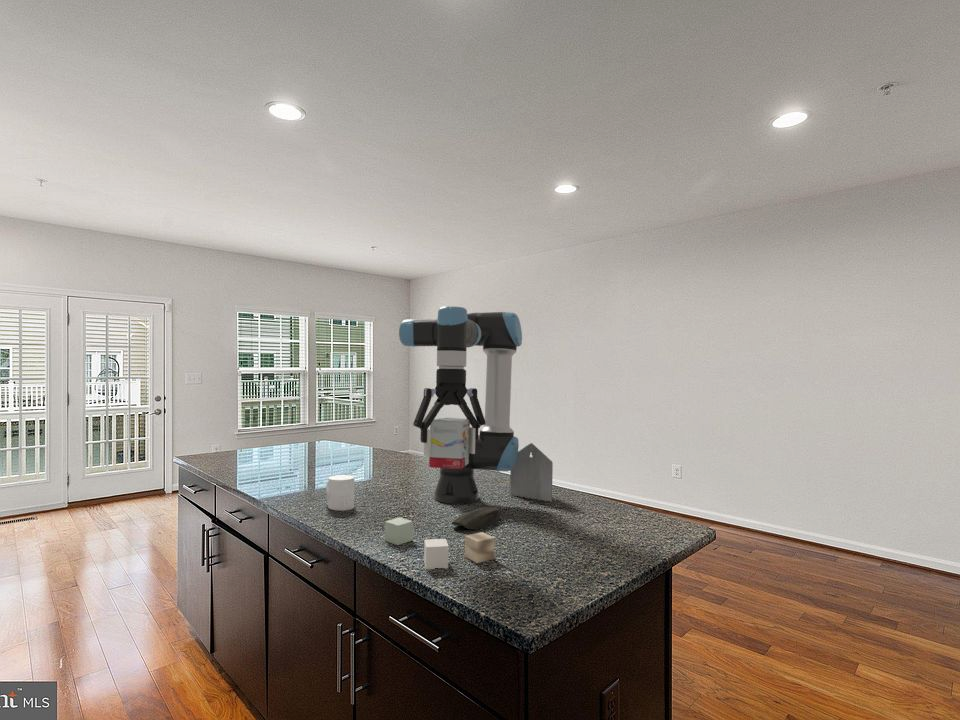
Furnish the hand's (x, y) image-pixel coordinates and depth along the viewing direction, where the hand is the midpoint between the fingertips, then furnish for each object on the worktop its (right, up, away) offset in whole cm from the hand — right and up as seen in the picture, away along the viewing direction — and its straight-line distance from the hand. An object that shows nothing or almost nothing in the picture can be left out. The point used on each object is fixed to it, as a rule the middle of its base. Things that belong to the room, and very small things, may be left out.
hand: (449, 454), depth 128 cm
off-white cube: (-2, -23, -13) cm, 26 cm away
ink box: (0, -3, 0) cm, 3 cm away
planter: (+27, -25, +52) cm, 64 cm away
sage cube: (-13, -23, +3) cm, 27 cm away
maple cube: (+7, -23, -8) cm, 25 cm away
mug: (-38, -23, +35) cm, 56 cm away
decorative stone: (+7, -24, +18) cm, 31 cm away
